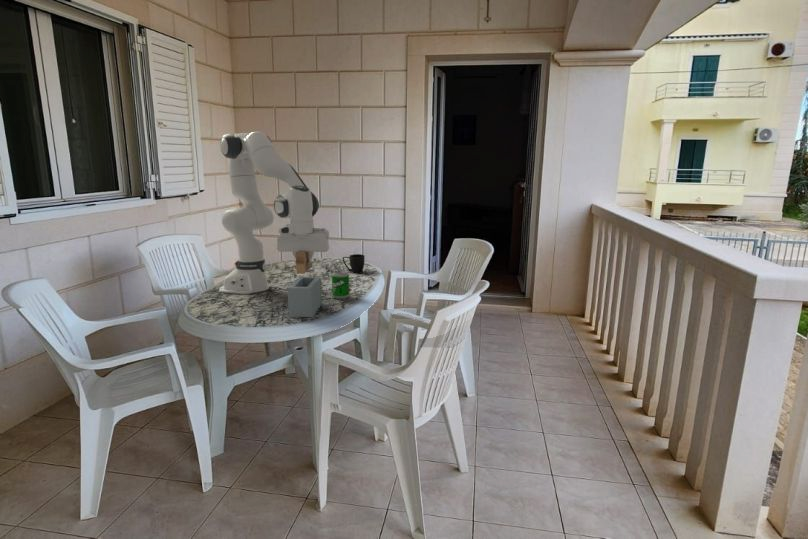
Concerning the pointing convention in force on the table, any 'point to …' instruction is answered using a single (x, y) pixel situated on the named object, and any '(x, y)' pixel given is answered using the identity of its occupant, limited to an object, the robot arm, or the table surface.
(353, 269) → the mug
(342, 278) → the soda can
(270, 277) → the table surface
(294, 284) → the grey hollow frame
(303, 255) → the brown rectangular block
